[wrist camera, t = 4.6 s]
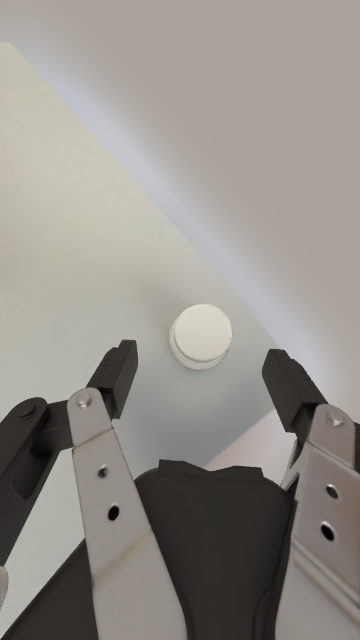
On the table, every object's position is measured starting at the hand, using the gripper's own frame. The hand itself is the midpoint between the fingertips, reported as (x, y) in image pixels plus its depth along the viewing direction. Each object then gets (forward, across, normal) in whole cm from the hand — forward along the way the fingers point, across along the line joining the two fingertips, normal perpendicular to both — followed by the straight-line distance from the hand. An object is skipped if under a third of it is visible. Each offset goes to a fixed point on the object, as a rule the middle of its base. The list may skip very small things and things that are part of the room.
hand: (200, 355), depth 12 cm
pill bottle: (+6, 0, +4) cm, 7 cm away
